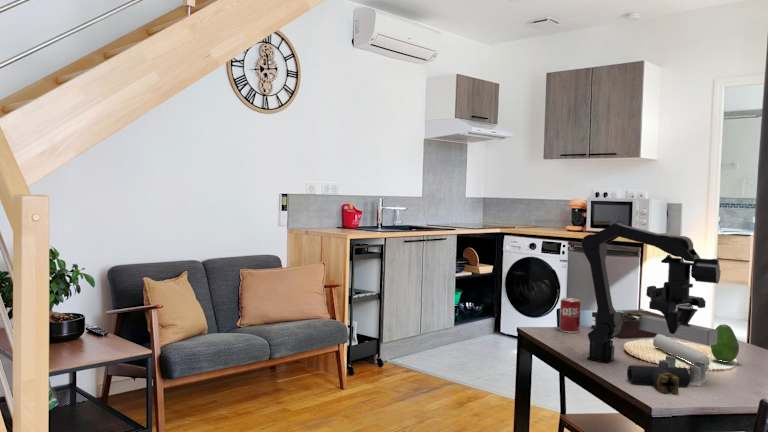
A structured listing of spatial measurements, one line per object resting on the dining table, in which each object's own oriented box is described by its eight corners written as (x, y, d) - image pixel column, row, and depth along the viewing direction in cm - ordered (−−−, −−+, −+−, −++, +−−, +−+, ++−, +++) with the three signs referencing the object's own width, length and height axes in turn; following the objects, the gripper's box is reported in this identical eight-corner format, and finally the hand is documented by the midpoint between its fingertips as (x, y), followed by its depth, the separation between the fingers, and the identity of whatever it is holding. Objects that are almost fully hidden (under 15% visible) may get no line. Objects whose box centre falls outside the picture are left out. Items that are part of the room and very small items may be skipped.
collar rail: (657, 378, 176) (658, 359, 176) (664, 372, 183) (665, 354, 182) (699, 386, 170) (700, 367, 169) (706, 380, 176) (707, 361, 176)
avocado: (704, 359, 199) (706, 322, 199) (725, 358, 201) (727, 321, 200) (722, 366, 191) (724, 327, 191) (744, 365, 193) (746, 327, 193)
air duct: (717, 344, 172) (717, 329, 172) (708, 345, 170) (709, 330, 170) (647, 328, 191) (647, 314, 191) (638, 329, 189) (639, 315, 189)
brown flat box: (685, 317, 230) (617, 320, 222) (684, 338, 231) (616, 341, 222) (649, 307, 249) (585, 309, 240) (648, 326, 249) (584, 328, 240)
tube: (716, 357, 187) (669, 336, 212) (700, 351, 187) (656, 331, 211) (709, 373, 187) (664, 351, 212) (694, 368, 187) (650, 346, 212)
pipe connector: (700, 376, 162) (641, 373, 163) (699, 397, 162) (641, 394, 163) (682, 365, 173) (627, 362, 174) (681, 384, 173) (626, 381, 174)
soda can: (581, 333, 230) (583, 301, 230) (562, 333, 230) (563, 300, 230) (576, 329, 237) (577, 298, 237) (557, 328, 238) (558, 297, 237)
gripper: (672, 274, 192) (670, 324, 192) (634, 277, 182) (631, 330, 182) (707, 279, 182) (705, 332, 183) (669, 282, 172) (666, 338, 173)
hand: (676, 332), depth 180 cm, fingers closed on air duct, 4 cm apart
